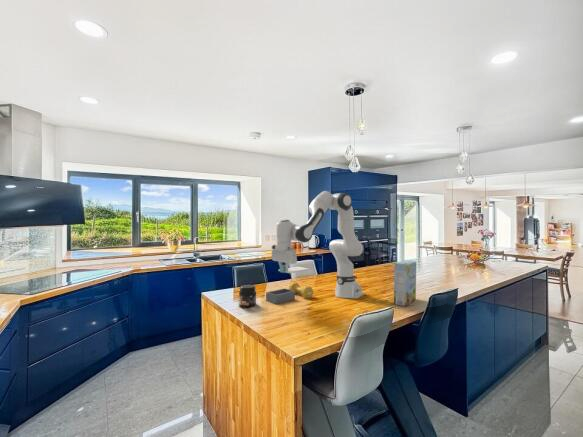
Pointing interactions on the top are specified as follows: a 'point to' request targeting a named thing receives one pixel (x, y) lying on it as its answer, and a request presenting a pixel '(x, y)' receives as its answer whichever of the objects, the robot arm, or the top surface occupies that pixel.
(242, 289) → the supplement container
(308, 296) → the dumbbell
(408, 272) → the snack box
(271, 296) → the tub
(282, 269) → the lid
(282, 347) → the top surface
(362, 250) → the robot arm
